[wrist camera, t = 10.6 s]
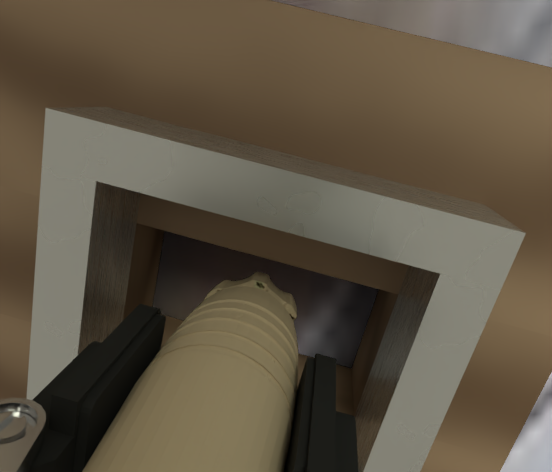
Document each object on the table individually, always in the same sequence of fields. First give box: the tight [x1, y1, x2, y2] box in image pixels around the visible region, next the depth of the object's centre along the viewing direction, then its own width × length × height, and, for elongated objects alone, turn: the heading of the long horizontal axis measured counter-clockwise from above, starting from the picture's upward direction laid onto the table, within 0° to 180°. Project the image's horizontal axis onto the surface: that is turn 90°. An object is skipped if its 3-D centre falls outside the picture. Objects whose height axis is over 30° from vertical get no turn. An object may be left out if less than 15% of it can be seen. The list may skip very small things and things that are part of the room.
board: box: [0, 0, 552, 472], centre depth 17 cm, size 20×20×3 cm
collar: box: [27, 107, 526, 472], centre depth 14 cm, size 12×12×3 cm
